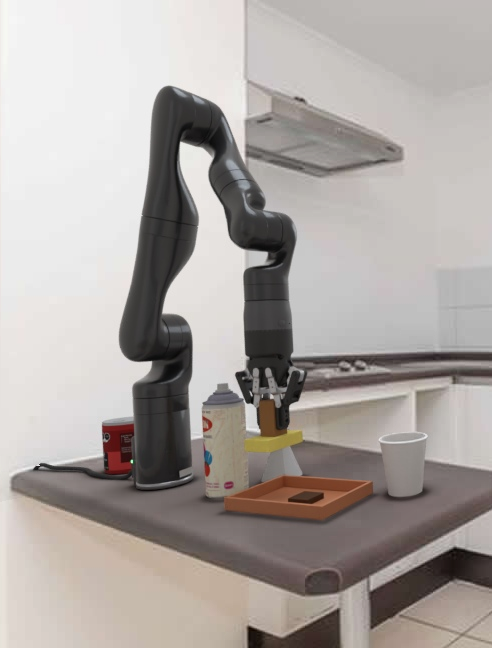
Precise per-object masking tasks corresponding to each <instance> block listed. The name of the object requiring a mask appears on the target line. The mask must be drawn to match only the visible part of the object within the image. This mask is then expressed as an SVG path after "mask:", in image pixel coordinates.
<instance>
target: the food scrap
mask: <svg viewBox="0 0 492 648" xmlns="http://www.w3.org/2000/svg"><path fill="white" fill-rule="evenodd" d="M323 498H324V493H323V492H311V491H303V492H301V493H299V494H297V495H294V496H292V497H290V498H288V502H293V503H304V504H313V503H315V502H317V501H319V500H321V499H323Z"/></svg>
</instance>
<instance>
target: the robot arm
mask: <svg viewBox="0 0 492 648" xmlns="http://www.w3.org/2000/svg"><path fill="white" fill-rule="evenodd" d="M150 117H151V118H150V133H149V137H150V138H149V159H148V170H147V179H146V180H147V181H146V184H145V185H146V186H145V193H144V199H143V205H142V210H141V215H140V220H139V221H140V222H139V228H138V238H137V246H136V247H137V248H136V253H135V259H134V265H133V271H132V277H131V282H130V285H129V290H128V293H127V297H126V300H125V304H124V308H123V312H122V315H121V319H120V324H119V329H118V346H119V350H120V351H121V353H122V355H123V356H124V357H125V358H126V359H127V360H128V361H131V362H132V363H133V362H134V363H149V362H151V366H150V369H149V371H148V372H147V374H145V375H144V376H143V377H141V378H140V379H138V380H137V381H135V382H134V383H132V387H131V394H132V395H131V396H132V413H133V416H132V417H133V418H134V436H133V437H132V439H131V442H132V461H131V470H130V471H129V472H128V473H126V474H122V475H115V474H107V473H102V472H97V471H94V470H93V469H91V468H88V467H85V466H68V465H67V466H62V465H52V464H50V463H46V462H39V463H40V464H39V463H38V464H39V465H40V466H36V465H35V466H34V467H33V468H32V471H38V470H40V468H45V469H49V470H52V471H78V472H85V473H86V474H89V475H90V476H92V477H96V478H101V479H105V480H116V481H118V480H119V481H120V480H122V481H123V480H128V479H130V478H132V479H133V480H132V481H133V487H136V489H137V490H143V491H151V490H152V491H153V490H161V489H168V488H174V487H178V486H181V485H184V484H187V483H189V482H191V481H193V479H194V466H193V452H192V451H193V449H192V433H191V431H192V429H191V411H190V409H191V408H190V394H189V392H190V389H189V388H190V387H189V386H190V383H191V381H192V377H193V372H194V371H193V368H194V367H193V366H194V365H193V363H194V362H193V361H194V360H193V358H194V357H193V356H194V342H193V341H194V339H193V331H192V329H191V326H190V324H189V322H188V321H187V319H186V318H185V317H184V316H182V315H180V314H178V313H167V312H166V313H165V312H164V311H163V310H164V307H165V306H164V305H165V301H166V297H167V293H168V292H169V289H170V287H171V285H172V284H173V282H174V281H175V279H176V278H177V277H178V276H179V274H180V273H181V272H182V270H183V269H184V268H185V267H186V265H187V264H188V262H189V261H190V259H191V257H192V256H193V253H194V251H195V249H196V245H197V244H196V243H197V237H198V231H199V225H200V224H199V223H200V216H199V214H200V213H199V210H198V207H197V205H196V202H195V200H194V197H193V195H192V192H191V190H190V189H189V186H188V184H187V182H186V180H185V177H184V175H183V171H182V167H181V152H180V151H181V143H183V144H186V145H189V146H192V147H195V148H201V149H203V150H204V151H205V152H206V153H207V154H208V155H209V156H210V157H211V158H212V159H211V161H210V163H209V166H208V169H207V178H208V183H209V186H210V188H211V190H212V191H213V193H214V195H215V196H216V198H217V200H218V201H219V203H220V205H221V207H222V208H223V212H224V217H225V222H226V228H227V235H228V237H229V240H230V241H231V243H233V244H234V246H236V247H237V248H239V249H241V250H244V251H248V252H259V253H260V252H261V253H267V254H266V259H265V261H264V263H263V264H258V265H251V266H248V267H246V268H245V269H244V271H243V274H242V287H243V300H244V302H243V311H242V312H243V314H242V320H243V337H244V354H245V356H246V357H248V359H249V360H248V363H247V368H244V369H243V370H240V371H236V372H235V374H234V376H235V379H236V382H237V385H238V387H239V390H240V392H241V394H242V398H243V399H244V403H245V404H247V405H253V407H254V408H255V411H256V424H257V426H258V429H259V430H260V414H259V401H263V400H268V399H271V395H272V396H273V399H274V402H275V406H276V407H277V408H275V418H276V429H277V430H283V429H286V428H289V425H290V423H291V417H290V407H291V405H293V404H295V403H298V402H299V401H300V398H301V396H302V392H303V389H304V386H305V382H306V379H307V376H308V370H307V369H305V368H304V369H300V368H298V367H296V366H294V362H293V360H292V354H293V353H294V334H293V332H294V331H293V315H292V308H291V303H290V288H289V287H290V286H289V285H290V284H289V276H290V271H291V266H292V262H293V257H294V253H295V250H296V245H297V240H298V230H297V228H296V224H295V222H294V221H293V219H292V218H291V217H290V216H289V215H288V214H286V213H283V212H279V211H271V210H265V207H266V203H267V202H266V201H267V199H266V195H265V194H264V191H263V190H262V188H261V187H260V185H259V183H258V182H257V180H256V179H255V177H254V176H253V175H252V173H251V172H250V170H249V168H248V167H247V165H246V164H245V161H244V159H243V157H242V155H241V152H240V150H239V148H238V147H239V146H238V144H237V142H236V139H235V137H234V134H233V132H232V131H233V130H232V129H231V126H230V124H229V121H228V118H227V117H226V115H225V113H224V111H223V110H222V108H221V107H220V106H219V105H218V104H217V103H215V102H213V101H211V100H210V99H207V98H205V97H202V96H200V95H197V94H195V93H192V92H190V91H186V90H185V89H183V88H180V87H177V86H174V85H164V86H163V87H162V88H160V89H159V91H158V92H157V94H156V96H155V98H154V101H153V105H152V110H151V116H150Z"/></svg>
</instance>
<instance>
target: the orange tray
mask: <svg viewBox="0 0 492 648" xmlns="http://www.w3.org/2000/svg"><path fill="white" fill-rule="evenodd" d="M303 491H311V492H323V493H324V498H323V499H321V500H319V501H317V502H315V503H313V504H304V503H293V502H288V498H290V497H292V496H294V495H297V494H299V493H301V492H303ZM373 493H374V480H363V479H361V480H360V479H350V478H349V479H347V478H333V477H319V476H304V475H301V476H292V475H282V476H279V477H277V478H274V479H271V480H269V481H266V482H261V483H258V484H255V485H253V486H251V487H250V486H249V488H248V489H245V490H243V491H240V492H237V493H235V494H232V495H230V496H227V497H224V498H223V504H224V505H223V507H224V511H229V512H239V513H248V514H257V515H258V514H259V515H260V514H261V515H268V516H277V517H289V518H300V519H309V520H317V521H323V520H325V519H327V518H329V517H331V516H333V515H335V514H337V513H338V512H340V511H342V510H344V509H346V508H348V507H350V506H352V505H353V504H355V503H357V502H359V501H361V500H363V499H365V498H366V497H368V496H370V495H372V494H373Z"/></svg>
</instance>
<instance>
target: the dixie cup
mask: <svg viewBox="0 0 492 648" xmlns="http://www.w3.org/2000/svg"><path fill="white" fill-rule="evenodd" d="M428 437H429V435H428V434H427V433H425V432H421V431H402V432H401V431H400V432H392V433H387V434H384V435H382V436H380V437H379V438H378V443H379V445H380V452H381V458H382V463H383V469H384V475H385V481H386V487H387V493H388V495H389V496H391V497H395V498H404V497H412V496H416V495H418V494H420V493H422V492H423V487H424V486H423V485H424V473H425V461H426V450H427V449H426V448H427V439H428Z"/></svg>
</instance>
